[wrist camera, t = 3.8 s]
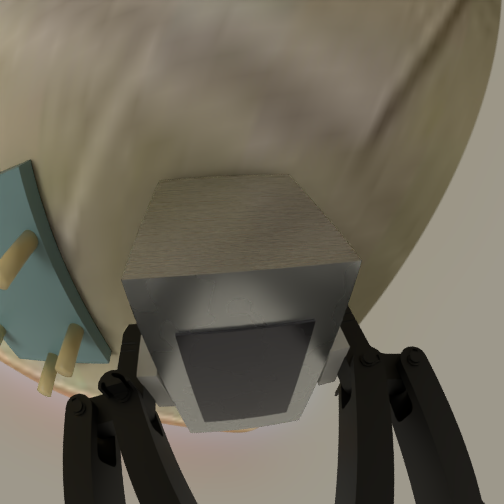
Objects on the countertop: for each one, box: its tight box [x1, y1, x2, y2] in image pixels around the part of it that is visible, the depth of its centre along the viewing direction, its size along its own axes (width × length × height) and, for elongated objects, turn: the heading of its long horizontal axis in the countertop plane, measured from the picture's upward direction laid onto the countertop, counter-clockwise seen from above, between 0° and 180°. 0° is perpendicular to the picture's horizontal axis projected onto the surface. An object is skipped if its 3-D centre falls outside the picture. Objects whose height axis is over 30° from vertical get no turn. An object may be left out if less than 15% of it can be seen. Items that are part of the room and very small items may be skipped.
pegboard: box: [0, 160, 111, 397], centre depth 11 cm, size 15×10×5 cm
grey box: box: [121, 174, 362, 433], centre depth 12 cm, size 11×6×7 cm, turn 179°
